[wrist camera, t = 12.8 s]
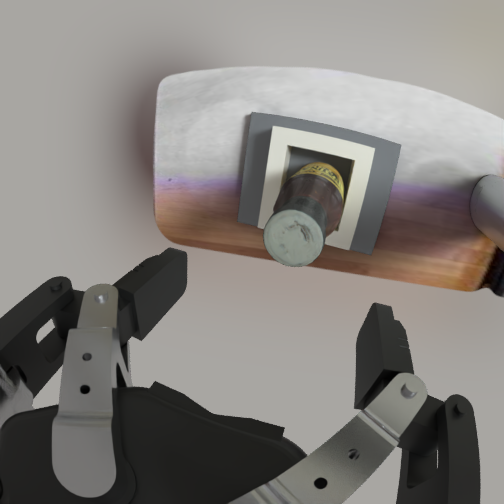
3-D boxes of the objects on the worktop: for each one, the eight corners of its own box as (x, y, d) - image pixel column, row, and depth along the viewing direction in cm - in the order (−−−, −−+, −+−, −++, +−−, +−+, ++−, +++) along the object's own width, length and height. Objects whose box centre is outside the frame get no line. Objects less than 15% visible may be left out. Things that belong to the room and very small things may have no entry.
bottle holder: (398, 144, 30) (409, 146, 25) (370, 251, 37) (374, 268, 32) (254, 112, 34) (241, 109, 29) (240, 218, 41) (227, 231, 36)
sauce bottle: (343, 162, 32) (356, 194, 15) (341, 208, 35) (346, 287, 17) (293, 159, 34) (248, 188, 16) (293, 205, 36) (252, 277, 19)
